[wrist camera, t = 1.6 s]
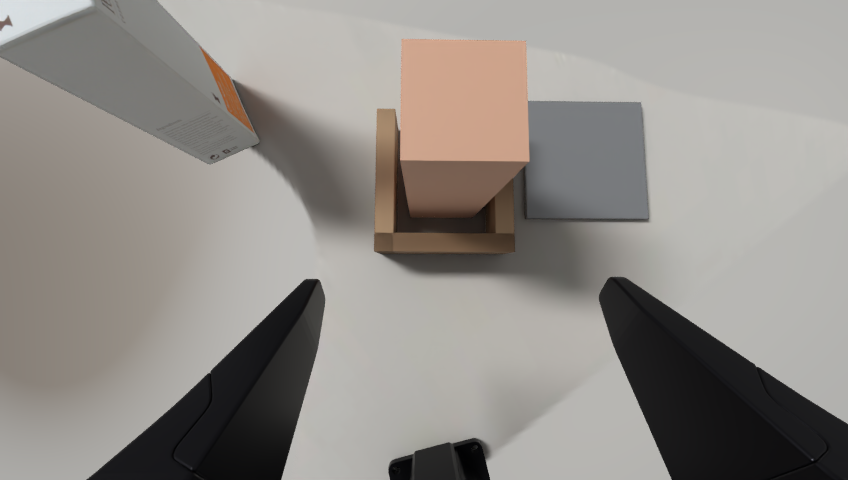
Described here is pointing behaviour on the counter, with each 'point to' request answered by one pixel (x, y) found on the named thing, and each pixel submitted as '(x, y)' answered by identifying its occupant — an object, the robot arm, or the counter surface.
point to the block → (461, 123)
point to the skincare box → (130, 69)
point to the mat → (585, 161)
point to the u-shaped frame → (391, 242)
